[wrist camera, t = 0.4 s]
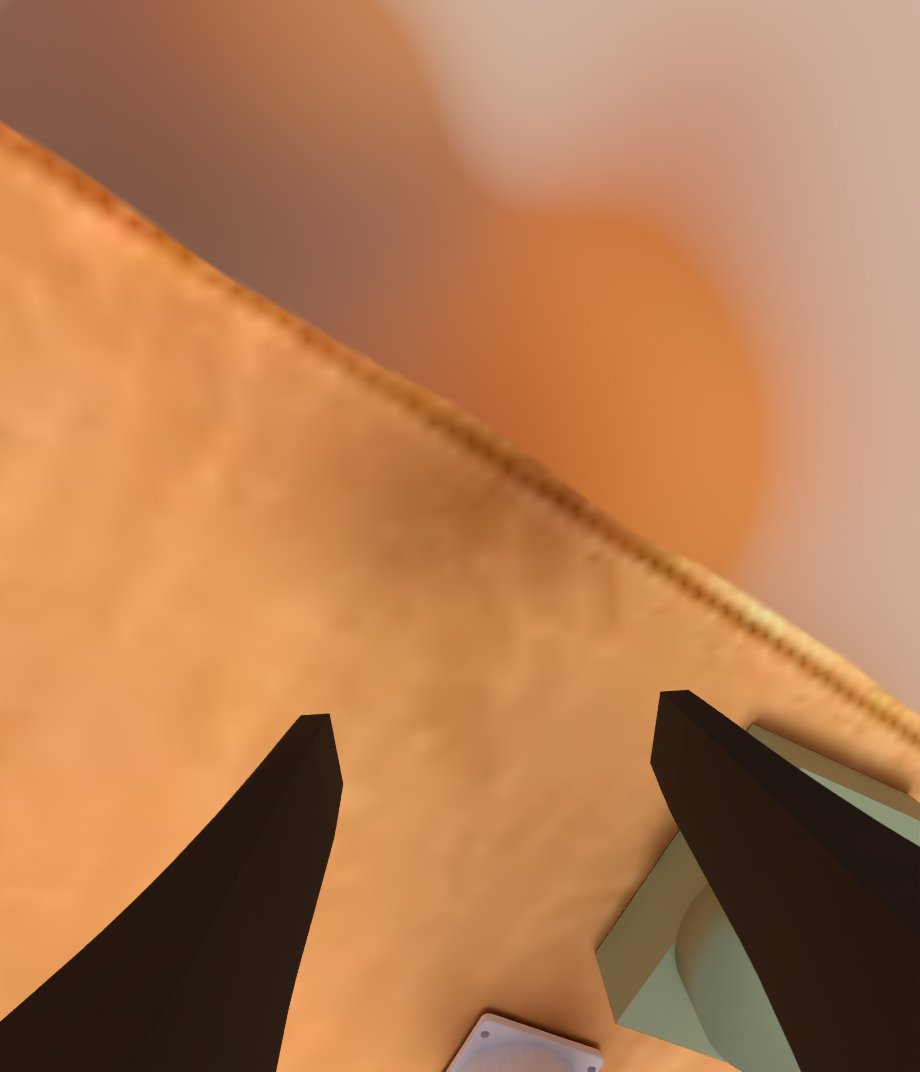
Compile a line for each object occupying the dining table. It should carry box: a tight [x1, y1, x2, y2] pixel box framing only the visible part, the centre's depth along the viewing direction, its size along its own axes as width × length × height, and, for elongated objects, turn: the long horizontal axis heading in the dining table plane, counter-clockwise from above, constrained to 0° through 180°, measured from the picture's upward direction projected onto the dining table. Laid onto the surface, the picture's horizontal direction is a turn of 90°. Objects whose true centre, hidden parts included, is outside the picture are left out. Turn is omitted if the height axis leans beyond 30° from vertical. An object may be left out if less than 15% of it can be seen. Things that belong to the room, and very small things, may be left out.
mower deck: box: [595, 724, 920, 1072], centre depth 21 cm, size 16×21×5 cm
